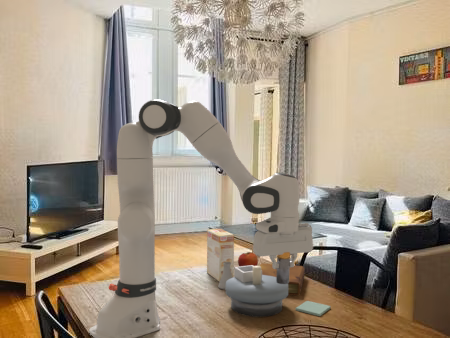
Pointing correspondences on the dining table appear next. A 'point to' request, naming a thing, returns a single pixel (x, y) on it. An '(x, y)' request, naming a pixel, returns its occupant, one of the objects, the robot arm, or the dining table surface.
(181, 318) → the dining table surface
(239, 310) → the base
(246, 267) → the dial
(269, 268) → the diary
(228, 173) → the robot arm
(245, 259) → the tomato
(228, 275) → the flask
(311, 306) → the mat
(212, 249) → the coffeecake box
